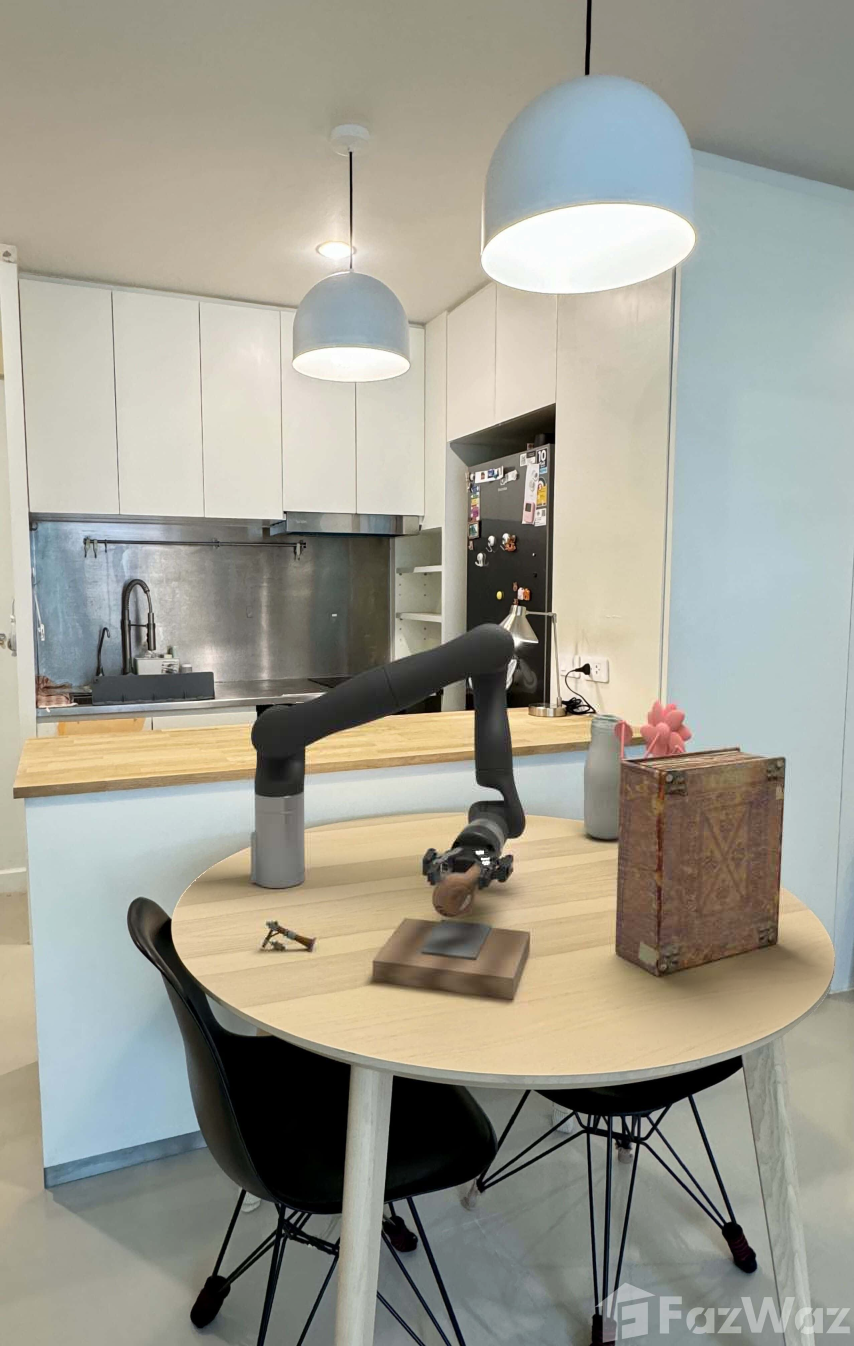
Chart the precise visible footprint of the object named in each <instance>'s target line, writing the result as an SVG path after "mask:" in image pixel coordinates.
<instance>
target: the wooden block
mask: <svg viewBox="0 0 854 1346" xmlns="http://www.w3.org/2000/svg"><path fill="white" fill-rule="evenodd" d="M492 926H493V925H492V924H484V923H477V922H468V921H467V922H466V921H457V920H450V919H440V921H436V920H426V919H419V918H410V917H404V918H403V919H402V921H401V923H399V925H398V927H396V929H395V930H394V931H393V933H392V935H390V937H389V938H388V939H387V941H386V942H385V943H384V945H383V946H382V948H381V949H380V950H379V951H378V953H377V954H376V955H375V957H374V958H373V959H372V982H379V983H386V984H392V985H393V984H394V985H400V986H408V987H417V988H424V989H431V990H438V991H446V992H453V993H461V994H467V995H469V994H470V995H477V996H483V997H490V998H498V999H505V1000H512V1001H513V1000H514V999H515V995H516V993H517V990H518V987H519V984H520V981H521V979H522V978H521V977H522V974H523V972H524V969H525V967H526V963H527V960H528V958H529V954H530V950H531V949H530V948H531V947H530V946H531V932H530V931H526V930H525V931H524V930H516V929H509V928H508V929H506V928H499V927H492Z"/></svg>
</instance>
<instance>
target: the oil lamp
mask: <svg viewBox="0 0 854 1346" xmlns="http://www.w3.org/2000/svg"><path fill="white" fill-rule="evenodd" d="M483 868H485V867H484V864H483V863H482V862H481V861H475V863H474V864H473V866H472V867H471V868H470V869H469V870H468V871H467V872H466V873H464V874H449V875H444V874H441V875H440V876H439V878H438V882H437V884H436V885H435V886H434V889H433V893H432V895H431V898H432V900H431V901H432V906H433V907H434V910H435V912H437V914H439V915H440V916H442V917H446V918H456V917H458V916H461V915H464V914H467V913H469V912H471V911H473V909H474V903H475V896H476V895H475V894H476V889H478V876H479V874H480V872H481V870H482V869H483Z"/></svg>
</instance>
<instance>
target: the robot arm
mask: <svg viewBox="0 0 854 1346" xmlns="http://www.w3.org/2000/svg"><path fill="white" fill-rule="evenodd" d="M515 645H516V643H515V640H514V637H513V635H512V634H511V632H510V631H509V630H508V629H507V628H505V627H504V626H503V625H500V624H496V623H483V624H480V625H478V626H475V627H474V628H472V629H470V630H468V631H466V632H465V633H463V634H461V635H460V636H459V635H458V637H457V636H456V637H455V638H454V639H451V640H449V641H447V642H445V643H443V644H441V645H439V646H436V647H433V648H431V649H428V650H424V651H421V652H418V653H417V652H416V653H414V654H411V655H407V656H404V657H401V658H398V659H395V660H392V661H389V662H386V663H384V664H382V665H381V664H380V665H378V666H377V667H373V668H371V669H368V670H366V671H363V672H362V673H359V674H357V675H355V676H353V677H350V678H349V679H347V680H346V681H345V680H344V681H343V682H342V683H340V684H338V685H337V686H335V687H333V688H332V689H330V690H328V691H327V692H325V693H324V694H321V695H319V696H317V697H315V698H313V699H310V700H307V701H304V702H300V703H297V704H294V705H291V706H289V705H284V704H277V705H272V706H271V707H268V708H266V709H265V710H264V711H263V712H262V713H261V714H260V715H258V717H257V718H256V719H255V721H254V723H253V725H252V727H251V733H250V740H251V745H252V746H253V748H254V749H255V751H256V767H255V774H254V781H253V782H254V785H253V786H254V788H253V789H254V790H253V791H254V830H253V832H251V834H250V876H251V877H250V879H251V881H250V882H251V883H252V884H257V885H258V886H260V887H263V888H269V889H284V888H291V887H294V886H298V885H300V884H302V883H303V882H304V881H305V878H306V877H305V876H306V873H305V872H306V866H305V865H306V864H305V863H306V862H305V861H306V860H305V858H306V856H305V854H306V853H305V850H306V848H305V847H306V846H305V844H306V843H305V835H306V834H305V778H306V777H305V775H306V747H308V746H310V745H312V744H315V743H316V742H318V741H320V740H322V739H324V738H326V737H329V736H332V735H333V734H336V733H340V732H343V731H346V730H350V729H353V728H357V727H360V726H362V725H366V724H369V723H372V722H374V721H377V720H381V719H383V718H385V717H388V716H391V715H393V714H397V713H399V712H400V711H403V710H406V709H408V708H410V707H412V706H414V705H416V704H418V703H420V702H422V701H423V700H425V699H427V698H429V697H430V696H432V695H434V694H436V693H437V692H438V691H441V690H442V689H444V688H446V687H447V686H450V685H452V684H455V683H458V682H461V681H464V680H467V679H470V682H471V687H472V697H473V707H474V708H473V710H474V714H473V715H474V722H473V724H474V733H473V735H474V737H473V738H474V739H473V742H474V743H473V744H474V745H473V747H474V751H473V752H474V769H475V770H474V771H475V773H474V774H475V781H476V784H477V785H478V786H479V787H482V788H488V789H493V790H496V791H498V792H499V793H500V794H501V795H502V798H503V799H502V800H501V799H500V800H499V799H498V800H494V799H493V800H479V801H476V802H473V803H472V804H471V805H470V807H469V808H468V814H467V824H466V826H465V827H464V828H463V829H462V830H461V832H460V833H459V835H458V836H457V837H456V838H455V840H454V841H453V843H452V845H451V847H450V848H449V849H448V850H446V851H445V852H444V853H438V851H437V850H436V849H435V848H434V847H430V848H428V849H427V850H426V852H425V854H424V856H423V858H422V876H424V877H426V878H427V879H426V880H427V881H426V882H427V883H429V885H430V886H433V887H436V885H437V882H438V878H439V876H440V875H441V874H444V875H449V874H464V873H466V872H467V871H468V870H469V869H470V868H471V867H472V866H473V864H474V863H475V861H481V862H482V863H483V864H484V867H485V868H483V869H482V870H481V872H480V874H479V876H478V886H477V890H478V891H484V890H485V888H488V887H490V885H491V883H494V881H495V880H497V882H498V883H501V884H502V883H506V882H507V880H508V879H509V878H510V876H511V875H512V874H513V872H514V855H513V854H510V853H509V854H508V853H507V854H506V855H505V856H502V854H503V850H504V846H505V844H506V842H507V841H508V840H513V839H518V838H519V837H521V836H522V835H523V834H524V832H525V829H526V825H527V823H526V822H527V820H526V815H525V812H524V808H523V805H522V803H521V799H520V797H519V793H518V791H517V787H516V782H515V776H514V774H515V773H514V764H513V763H514V760H513V745H512V743H513V741H512V735H511V734H512V733H511V728H510V721H509V713H508V704H507V681H508V674H509V673H508V672H509V665H510V663H511V662H512V660H513V657H514V655H515V650H516V648H515ZM500 857H501V858H500Z"/></svg>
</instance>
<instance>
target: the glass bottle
mask: <svg viewBox="0 0 854 1346" xmlns="http://www.w3.org/2000/svg"><path fill="white" fill-rule="evenodd" d="M622 720H623V719H622V718H620V717H618V716H615V715H614V714H598V715H596V716H595V717H593V718H592V719H591V722H590V723H591V724H590V728H589V731H590V736H591V737H590V743H589V748H588V752H587V755H586V758H585V762H584V767H583V788H584V789H583V796H584V798H583V820H584V821H583V822H584V828H585V829H586V832H587V833H588V834H589V835H590V836H592V837H594V838H596V839H600V840H613V839H617V838H619V804H620V769H621V762H622V761H621V742H620V741H619V740H618V738H617V737H616V735H615V732H614V728H615V725H616V724H617V723H618V722H620V721H622ZM623 759H628V757H627V755H626V751H625V750H624V754H623Z"/></svg>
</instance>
